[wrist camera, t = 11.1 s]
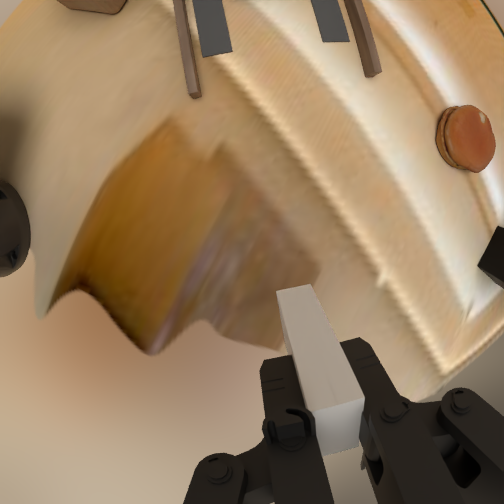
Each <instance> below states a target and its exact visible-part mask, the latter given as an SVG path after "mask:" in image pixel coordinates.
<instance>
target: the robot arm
mask: <svg viewBox="0 0 504 504" xmlns="http://www.w3.org/2000/svg"><path fill="white" fill-rule="evenodd" d="M29 245H30V227H29V221H28V216H27V213H26V210H25V207H24V204H23V202H22V200H21V198H20V196H19V195H18V193H17V192H16V191H15V189H14V188H13V187H12V186H11V185H9V184H8V183H6V182H5V181H2V180H0V277H5V276H8V275H10V274H11V273H13V272H14V271H16V270H18V269H19V268H20V267H21V266H22V265H23V263H24V262H25V260H26V257H27V255H28V251H29ZM276 293H277V299H278V305H279V311H280V317H281V323H282V329H283V335H284V340H285V344H286V348H287V352H288V355H287V356H282V357H277V358H272V359H267V360H264V361H263V364H262V366H261V368H260V379H261V387H262V395H263V403H264V410H265V419H264V421H263V425H262V431H263V434H264V438H263V440H262V441H261V442H260V443H259V444H258V445H257V446H256V447H254V448H252V449H251V450H249V451H246V452H244V453H241V454H239V455H237V456H234V455H231V454H227V453H216V454H212V455H209V456H207V457H205V458H204V459H203V460H201V461H200V462H199V464H198V465H197V467H196V469H195V471H194V474H193V477H192V480H191V483H190V485H189V488H188V491H187V494H186V497H185V500H184V503H183V504H270V503H273V502H275V504H334V500H333V496H332V493H331V489H330V485H329V482H328V477H327V473H326V469H325V466H324V462H323V458H322V456H326V455H329V454H334V453H337V452H341V451H345V450H348V449H351V448H355V447H358V446H359V440H360V442H361V445H362V447H363V450H364V451H363V456H362V461H361V470H363V469H365V467H366V470H367V473H368V476H369V479H370V482H371V484H372V487H373V490H374V493H375V496H376V499H377V502H378V504H504V416H502V415H501V414H500V413H499V412H498V411H496V410H495V409H494V408H493V407H492V406H491V405H489V404H488V403H487V402H486V401H485V400H483V399H482V398H481V397H480V396H479V395H477V394H476V393H475V392H473V391H472V390H470V389H467V388H454V389H452V390H450V391H448V392H447V393H446V394H445V395H444V396H443V398H442V400H441V401H435V402H427V403H415V402H411V401H410V400H409V399H407V398H405V397H403V396H400V394H399V393H398V392H397V390H396V388H395V387H394V385H393V383H392V381H391V380H390V378H389V376H388V374H387V373H386V371H385V369H384V368H383V366H382V364H380V361H379V359H378V357H377V356H376V354H375V352H374V350H373V349H372V347H371V345H370V344H369V343H367V342H366V341H364V340H363V339H361V338H360V337H358V338H355V339H351V340H347V341H343V342H339V341H338V339H337V337H336V335H335V333H334V331H333V329H332V327H331V325H330V322H329V320H328V318H327V316H326V314H325V312H324V310H323V308H322V306H321V304H320V302H319V300H318V298H317V296H316V294H315V292H314V290H313V288H312V286H311V284H307V285H303V286H298V287H293V288H288V289H283V290H278V291H276Z"/></svg>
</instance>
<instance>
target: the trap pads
mask: <svg viewBox="0 0 504 504" xmlns="http://www.w3.org/2000/svg"><path fill="white" fill-rule="evenodd" d="M311 2H312V5H313V9H314V12H315V15H316V19H317V22H318V26H319V29H320V33H321V37H322V41H323V42H350V40H349V37H348V33H347V30H346V26H345V23H344V20H343V16H342V13H341V10H340V7H339V4H338V1H337V0H311ZM193 6H194V12H195V17H196V23H197V28H198V34H199V39H200V45H201V50H202V56H203V57H208V56H213V55H218V54H223V53H228V52H232V47H231V42H230V37H229V32H228V28H227V23H226V18H225V14H224V9H223V4H222V0H193Z"/></svg>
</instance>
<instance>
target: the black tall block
mask: <svg viewBox="0 0 504 504" xmlns="http://www.w3.org/2000/svg"><path fill="white" fill-rule="evenodd" d="M478 267H479V268H480V269H481V270H482V271H483V272H485V273H486V274H487V275H488V276H489V277H490V278H491V279H492V280H493V281H494V282H495V283H496V284H498V285H499V286H501V287H502V288H504V228H502V227H500V226H498V227H497V229H496V231H495V233H494V235H493V237H492V239H491V241H490V243H489V245H488V247H487V249H486V251H485V253H484V255H483V257H482V259H481V261H480V262H479V264H478Z"/></svg>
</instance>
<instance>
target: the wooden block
mask: <svg viewBox="0 0 504 504" xmlns="http://www.w3.org/2000/svg"><path fill="white" fill-rule="evenodd" d="M57 1H59V2H60V3H61V4H63V5H64V6H66V7H67V8H71V9H81V10H89V11H97V12H103V13H110V14H114V13H117V12H118V11H119V10H120V9H121V7H122V6H123V4H124V3H125V1H126V0H57Z"/></svg>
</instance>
